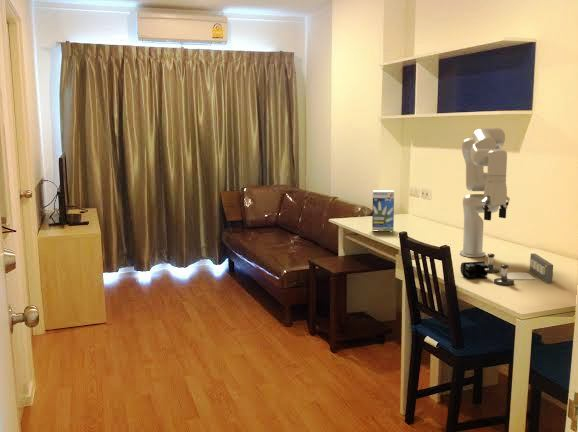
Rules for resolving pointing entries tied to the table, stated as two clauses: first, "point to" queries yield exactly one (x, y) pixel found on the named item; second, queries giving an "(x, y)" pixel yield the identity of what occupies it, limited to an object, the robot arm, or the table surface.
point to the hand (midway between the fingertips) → (494, 218)
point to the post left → (491, 265)
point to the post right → (504, 277)
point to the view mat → (519, 276)
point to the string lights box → (383, 210)
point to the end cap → (474, 270)
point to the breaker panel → (541, 268)
